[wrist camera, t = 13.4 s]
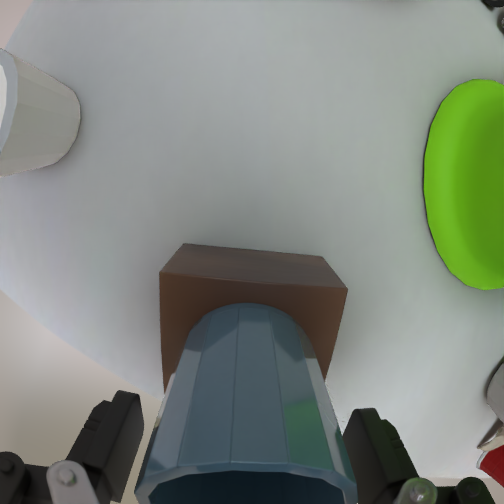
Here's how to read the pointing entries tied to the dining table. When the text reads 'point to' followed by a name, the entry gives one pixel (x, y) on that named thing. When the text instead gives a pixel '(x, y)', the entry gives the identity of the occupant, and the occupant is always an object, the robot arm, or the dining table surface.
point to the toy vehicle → (495, 3)
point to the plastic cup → (493, 464)
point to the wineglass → (468, 183)
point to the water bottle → (497, 393)
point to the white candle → (33, 117)
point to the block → (248, 294)
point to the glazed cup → (246, 418)
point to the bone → (494, 441)
